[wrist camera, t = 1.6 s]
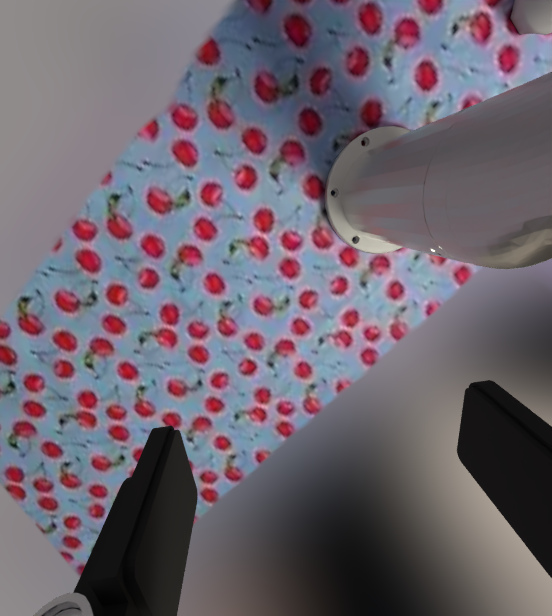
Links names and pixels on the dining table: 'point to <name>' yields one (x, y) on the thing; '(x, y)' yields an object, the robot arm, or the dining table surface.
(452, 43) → the dining table surface
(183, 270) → the dining table surface
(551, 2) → the salt shaker
